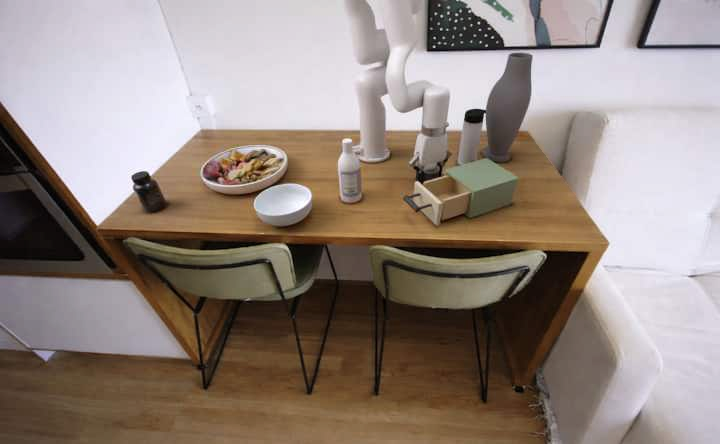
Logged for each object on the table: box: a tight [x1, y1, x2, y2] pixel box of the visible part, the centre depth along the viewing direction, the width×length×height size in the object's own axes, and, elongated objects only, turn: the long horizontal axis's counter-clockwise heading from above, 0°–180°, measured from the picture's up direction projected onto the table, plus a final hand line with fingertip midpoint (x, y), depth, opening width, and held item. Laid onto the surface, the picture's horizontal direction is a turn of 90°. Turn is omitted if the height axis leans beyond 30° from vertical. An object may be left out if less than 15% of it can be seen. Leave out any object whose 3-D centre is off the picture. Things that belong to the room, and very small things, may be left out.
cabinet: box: [443, 157, 519, 219], centre depth 104 cm, size 16×14×9 cm
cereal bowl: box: [253, 183, 314, 227], centre depth 102 cm, size 17×17×7 cm
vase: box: [481, 52, 534, 163], centre depth 118 cm, size 13×13×35 cm
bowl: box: [200, 144, 289, 195], centre depth 123 cm, size 30×30×8 cm
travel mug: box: [457, 108, 486, 166], centre depth 118 cm, size 6×7×20 cm
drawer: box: [402, 175, 472, 226], centre depth 100 cm, size 20×13×7 cm, turn 114°
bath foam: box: [337, 137, 363, 204], centre depth 105 cm, size 7×7×20 cm
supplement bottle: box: [130, 170, 168, 213], centre depth 108 cm, size 7×7×12 cm
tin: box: [419, 163, 440, 185], centre depth 116 cm, size 7×7×5 cm
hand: (428, 178), depth 117 cm, fingers closed on tin, 6 cm apart
